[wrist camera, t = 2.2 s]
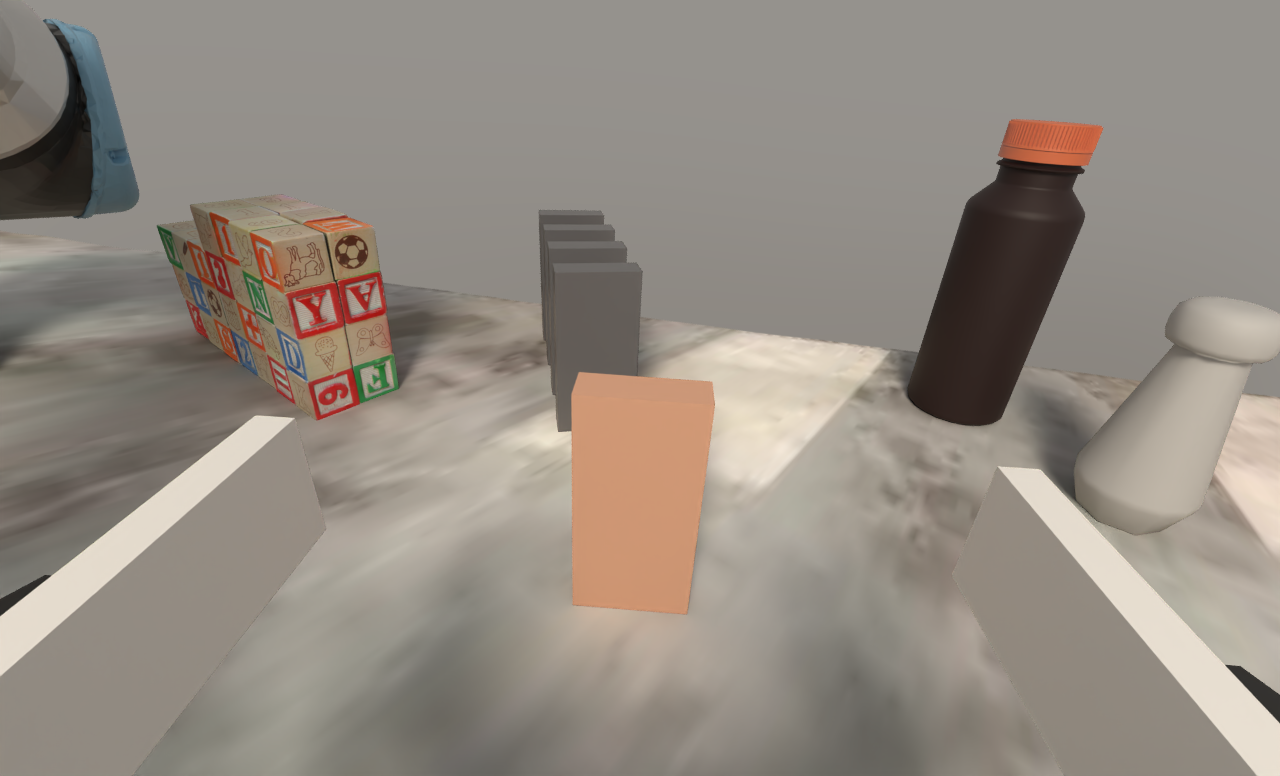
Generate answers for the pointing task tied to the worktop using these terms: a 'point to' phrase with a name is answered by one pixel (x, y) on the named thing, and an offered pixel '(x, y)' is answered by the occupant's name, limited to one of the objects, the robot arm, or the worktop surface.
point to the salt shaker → (1175, 418)
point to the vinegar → (1003, 273)
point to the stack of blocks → (288, 297)
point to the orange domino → (637, 488)
